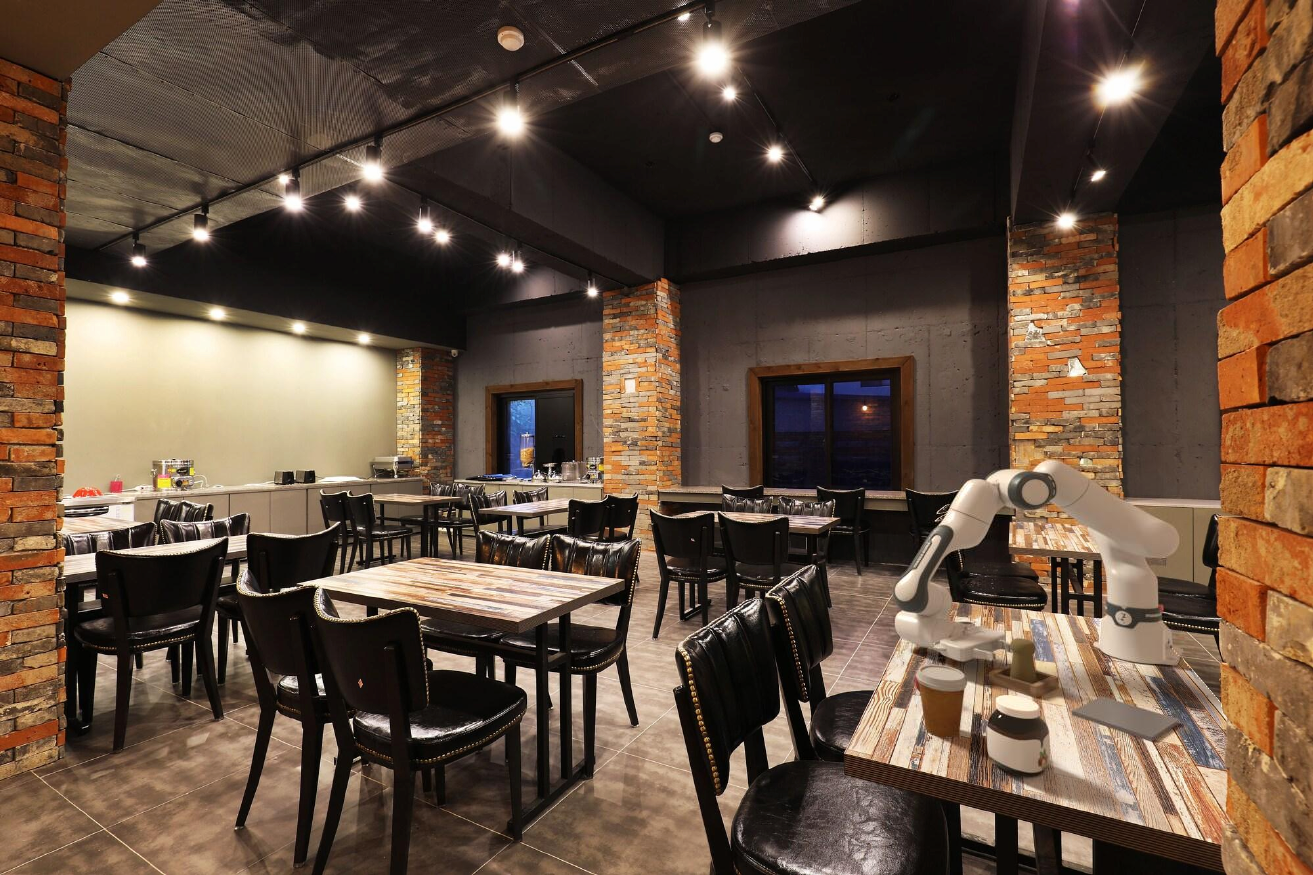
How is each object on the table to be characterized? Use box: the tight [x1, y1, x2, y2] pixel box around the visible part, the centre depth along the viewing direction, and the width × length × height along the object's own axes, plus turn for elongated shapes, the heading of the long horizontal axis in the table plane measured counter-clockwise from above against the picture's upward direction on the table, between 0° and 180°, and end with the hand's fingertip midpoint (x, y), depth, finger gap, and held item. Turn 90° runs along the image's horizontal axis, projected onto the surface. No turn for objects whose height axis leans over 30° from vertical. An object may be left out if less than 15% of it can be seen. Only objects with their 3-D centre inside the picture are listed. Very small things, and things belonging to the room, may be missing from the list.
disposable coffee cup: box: [915, 664, 968, 739], centre depth 123 cm, size 10×10×12 cm
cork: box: [1009, 637, 1037, 684], centre depth 145 cm, size 6×6×11 cm
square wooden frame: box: [988, 663, 1060, 699], centre depth 145 cm, size 11×11×2 cm
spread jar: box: [985, 694, 1051, 778], centre depth 111 cm, size 12×11×12 cm
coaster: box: [1071, 695, 1180, 742], centre depth 127 cm, size 14×14×1 cm
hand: (1004, 653), depth 149 cm, fingers open, 8 cm apart
